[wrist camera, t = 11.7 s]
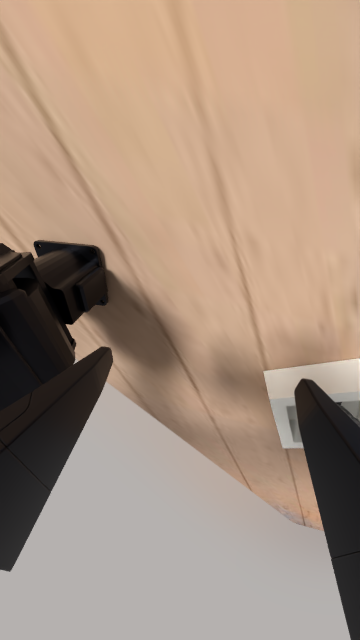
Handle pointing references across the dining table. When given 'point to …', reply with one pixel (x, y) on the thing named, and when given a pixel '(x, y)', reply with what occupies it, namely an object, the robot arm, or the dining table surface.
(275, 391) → the tagged holder
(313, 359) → the dining table surface
